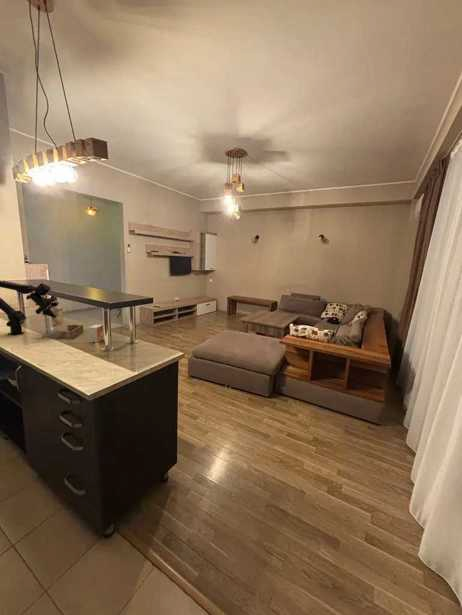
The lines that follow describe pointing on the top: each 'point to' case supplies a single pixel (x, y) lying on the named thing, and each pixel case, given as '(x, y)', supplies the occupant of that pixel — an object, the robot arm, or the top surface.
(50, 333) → the slate mat
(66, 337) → the walnut crate
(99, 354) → the top surface
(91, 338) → the small box
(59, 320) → the ash block
